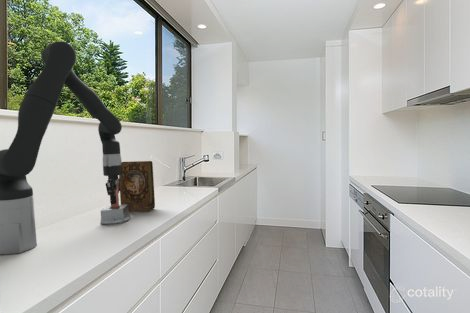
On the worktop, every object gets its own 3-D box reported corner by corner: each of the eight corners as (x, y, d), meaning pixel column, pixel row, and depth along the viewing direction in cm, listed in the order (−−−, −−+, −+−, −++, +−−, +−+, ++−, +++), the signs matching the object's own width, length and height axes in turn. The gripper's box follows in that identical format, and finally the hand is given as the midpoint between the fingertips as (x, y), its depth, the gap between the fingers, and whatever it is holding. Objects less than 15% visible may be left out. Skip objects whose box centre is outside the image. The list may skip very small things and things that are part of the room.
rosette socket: (126, 223, 110) (125, 209, 110) (96, 225, 108) (95, 211, 108) (133, 215, 122) (132, 203, 122) (105, 217, 120) (105, 205, 120)
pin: (119, 211, 113) (117, 181, 113) (108, 212, 113) (106, 181, 112) (121, 209, 117) (119, 179, 117) (111, 210, 117) (109, 180, 116)
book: (119, 212, 130) (116, 162, 129) (125, 209, 135) (122, 161, 134) (150, 211, 128) (148, 161, 127) (155, 209, 134) (152, 160, 133)
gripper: (108, 163, 120) (110, 200, 121) (97, 166, 106) (100, 207, 107) (125, 162, 121) (127, 199, 122) (116, 165, 108) (119, 206, 108)
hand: (114, 202), depth 115 cm, fingers closed on pin, 3 cm apart
